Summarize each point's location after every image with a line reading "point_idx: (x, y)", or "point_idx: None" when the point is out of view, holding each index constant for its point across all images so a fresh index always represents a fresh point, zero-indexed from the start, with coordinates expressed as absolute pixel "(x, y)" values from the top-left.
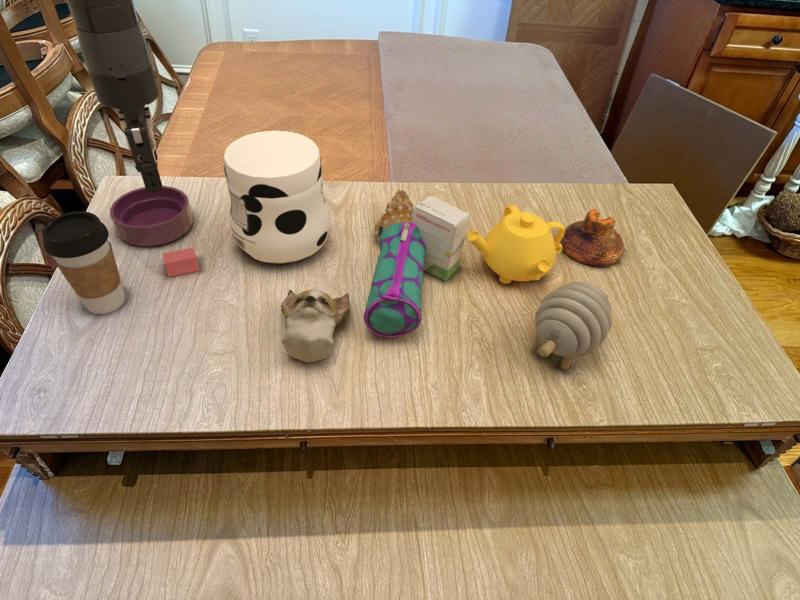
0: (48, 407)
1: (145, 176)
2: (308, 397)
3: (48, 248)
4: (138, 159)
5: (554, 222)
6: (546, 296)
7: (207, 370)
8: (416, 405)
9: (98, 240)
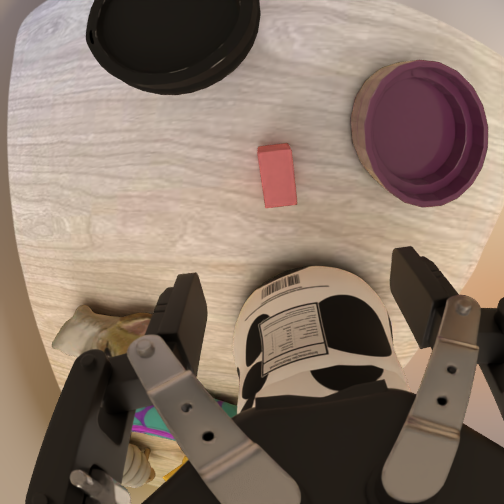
0: (33, 46)
1: (147, 329)
2: (50, 305)
3: None
4: (102, 394)
5: None
6: (133, 470)
7: (66, 215)
8: (62, 368)
9: (135, 84)
